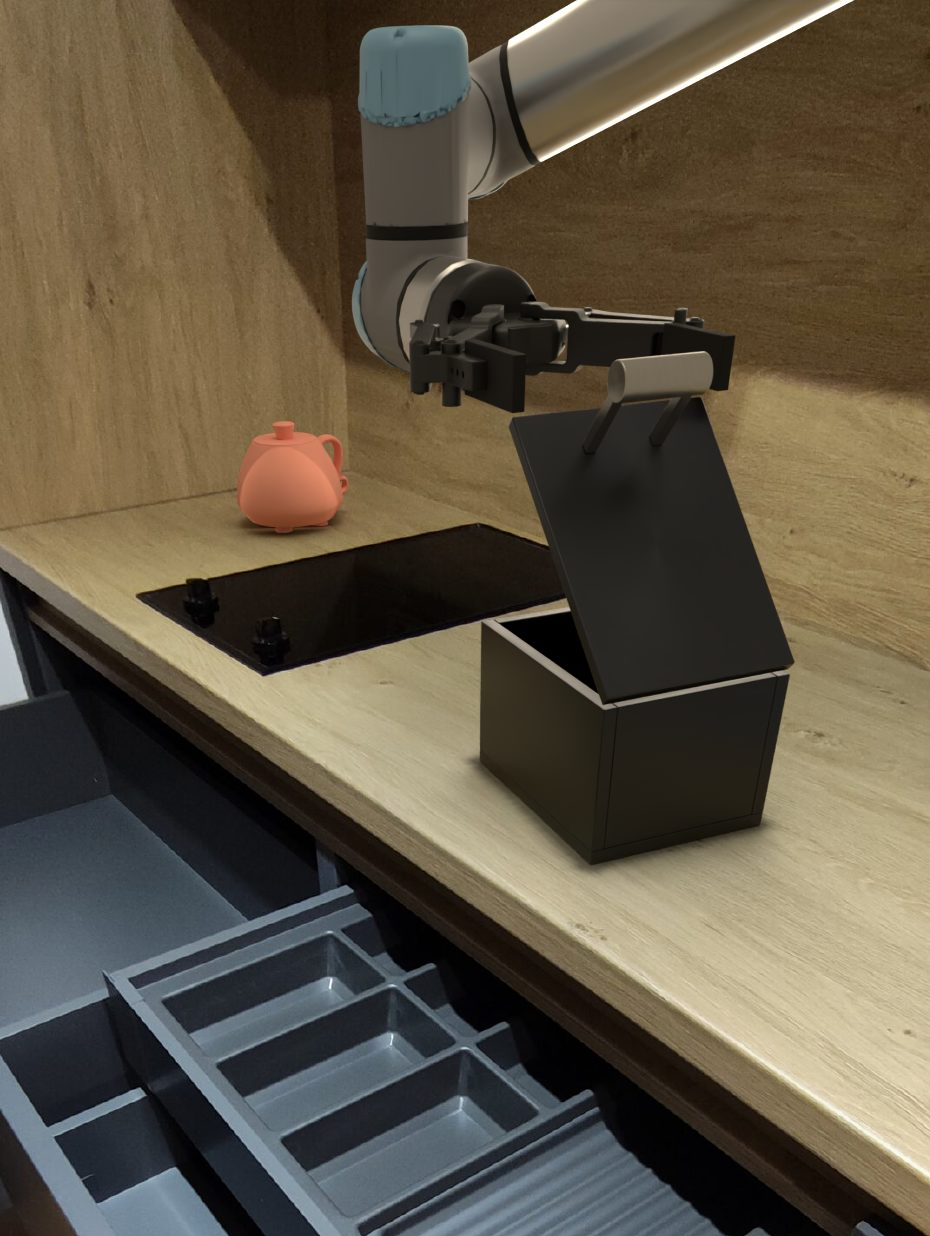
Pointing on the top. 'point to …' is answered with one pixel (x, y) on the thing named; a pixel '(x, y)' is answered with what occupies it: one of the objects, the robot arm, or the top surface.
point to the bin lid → (651, 535)
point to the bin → (620, 744)
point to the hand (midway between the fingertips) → (626, 373)
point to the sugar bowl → (291, 479)
